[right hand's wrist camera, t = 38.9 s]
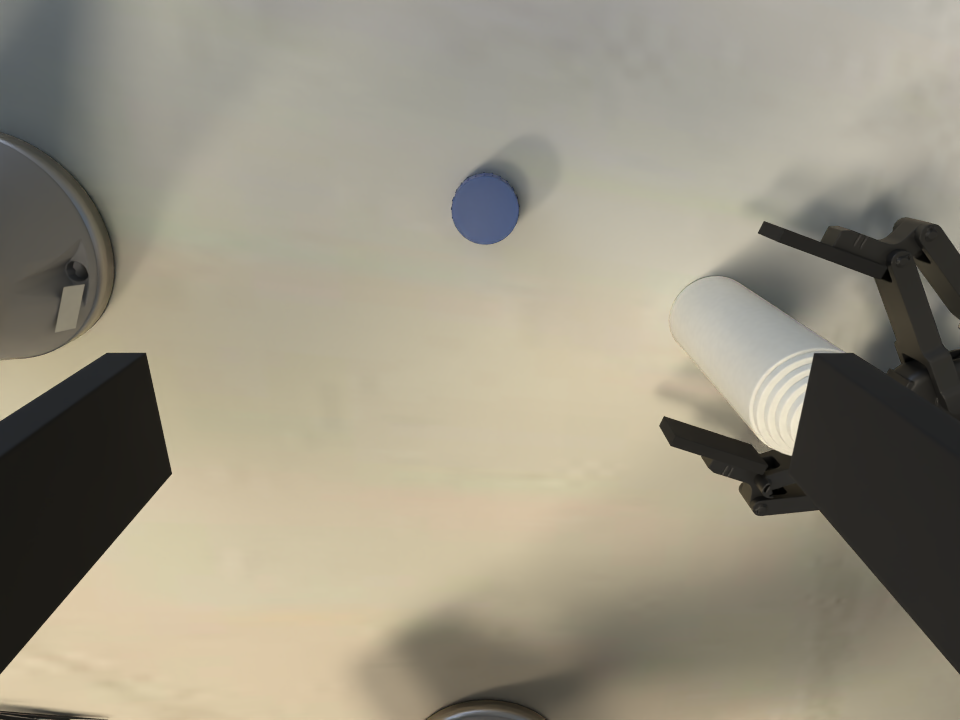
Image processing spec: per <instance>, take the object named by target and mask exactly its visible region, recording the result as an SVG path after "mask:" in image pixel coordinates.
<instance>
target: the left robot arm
mask: <svg viewBox="0 0 960 720" xmlns="http://www.w3.org/2000/svg"><path fill="white" fill-rule="evenodd" d="M758 233H759V234H761V235H763V236H766V237H768V238H770V239H773V240H775V241H777V242H780V243H782V244H785V245H788V246H791V247H793V248H796V249H799V250H801V251H804V252H807V253H809V254H812V255H815V256H818V257H820V258H823V259H826V260H828V261H831V262H834V263H836V264H839V265H842V266H845V267H847V268H850V269H853V270H855V271H858V272H861V273H864V274H866V275H869V276H872V277H874V279H875V281H876V284H877V287H878V290H879V292H880V295H881V298H882V301H883V303H884V306H885V309H886V312H887V314H888V317H889V320H890V323H891V325H892V328H893V331H894V334H895V336H896V339H897V341H896V342H895V343H894V344H895V347H896V350H897V353H898V355H899V358H900V361H901V363H902V364H901V365H899V366H898V367H897V368H895V369H894V370H893V369H889V371H888V372H887V375H888V376H890V377H891V378H893V379H895V380H896V381H898V382H899V383H901V384H902V385H904V386H905V387H907V388H909V389H910V390H912V391H913V392H915V393H916V394H918V395H919V396H921V397H923V398H924V399H926V400H927V401H929V402H930V403H932V404H934V405H935V406H937V407H938V408H940V409H941V410H943V411H944V412H946V413H948V414H949V415H951V416H952V417H954V418H955V419H957V420H959V421H960V349H957V350H952V351H948V350H947V349H946V348H945V347H944V346H943V344H942V342H941V339H940V336H939V333H938V330H937V327H936V324H935V321H934V318H933V315H932V312H931V309H930V306H929V303H928V300H927V297H926V294H925V291H924V288H923V285H922V282H921V279H920V276H919V273H918V270H917V267H918V268H919V270H920V271H921V272H922V274H923V275H924V276H925V278H926V279H927V281H928V282H929V283H930V285H931V286H932V287H933V289H934V290H935V291H936V293H937V294H938V296H939V297H940V298H941V300H942V301H943V302H944V304H945V305H946V307H947V308H948V309H949V310H950V312H951V313H952V314H953V315H954V316H956V317H957V318H958V319H960V254H959V253H958V251H957V250H956V248H955V247H954V246H953V244H952V243H951V241H950V240H949V238H948V237H947V236H946V234H945V233H944V231H943V230H942V228H941V227H940V226H939V225H936V224H932V223H929V222H925V221H920V220H916V219H911V218H907V217H905V218H901V219H899V220H898V221H897V222H896V223H895V224H894V227H893V232H892V233H891V234H890V235H888V236H887V237H886V238H884V239H881V240H876V239H873V238H871V237H868V236H865V235H863V234H860V233H858V232H855V231H852V230H849V229H846V228H843V227H840V226H829V227H828V229H827V231H826V232H825V234H824V236H823V238H822V240H821V242H819V241H816V240H813V239H811V238H808V237H805V236H803V235H800V234H797V233H795V232H792V231H789V230H787V229H784V228H781V227H778V226H776V225H773V224H770V223H768V222H765V221H764V222H763V224H762V226H761V228H760V230H759V232H758ZM916 265H917V267H916ZM958 328H959V329H960V324H959V325H958ZM659 426H660V428H661V430H662V431H663V433H664V435H665V437H666V439H667V440H668V442H669V444H670V446H673V447H676V448H679V449H682V450H685V451H688V452H691V453H695V454H698V455H701V457H702V459H703V460H704V462H705V463H706V465H707V467H708V468H709V469H710V470H711V471H713V472H714V473H717V474H720V475H723V476H726V477H729V478H733V479H736V480H739V481H742V482H743V483H741V485H740V486H739V492H740V493H741V495H742V496H743V498H744V499H745V501H746V502H747V504H748V505H749V506H750V508H751V509H752V511H753V512H754V513H755V514H756V515H758V516H766V515H775V514H785V513H795V512H804V511H814V510H819V509H818V508H817V507H816V506H815V505H814V503H813V502H812V501H811V500H810V499H809V498H808V496H807V495H806V494H805V493H804V492H803V491H802V489H801V488H800V487H799V486H798V485H797V484H796V482H795V481H794V480H793V479H792V478H791V477H790V475H789V474H788V472H789V467H790V462H791V458H792V456H790V455H787V454H783V453H781V452H779V451H776V450H771V451H768V452H765V453H762V454H758V452H757V451H756V450H755V449H754V447H753V446H752V445H751V444H748V443H745V442H742V441H739V440H735V439H732V438H729V437H726V436H723V435H720V434H717V433H714V432H711V431H708V430H705V429H702V428H698V427H695V426H692V425H689V424H686V423H683V422H680V421H677V420H674V419H671V418H668V417H665V416H664V417H663V419H662V421H661V423H660V425H659ZM427 720H546V719H545V718H544V717H542V716H541V715H539V714H538V713H536V712H534V711H532V710H530V709H528V708H526V707H523V706H521V705H517V704H514V703H509V702H504V701H497V700H476V701H468V702H463V703H459V704H456V705H452V706H450V707H447V708H445V709H443V710H440V711H438V712H437V713H435V714H433V715H432V716H431V717H429V718H428V719H427Z"/></svg>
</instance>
